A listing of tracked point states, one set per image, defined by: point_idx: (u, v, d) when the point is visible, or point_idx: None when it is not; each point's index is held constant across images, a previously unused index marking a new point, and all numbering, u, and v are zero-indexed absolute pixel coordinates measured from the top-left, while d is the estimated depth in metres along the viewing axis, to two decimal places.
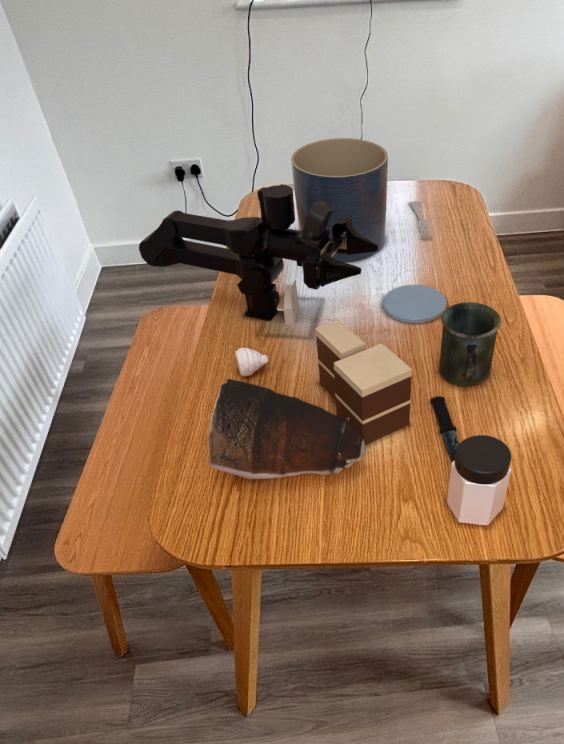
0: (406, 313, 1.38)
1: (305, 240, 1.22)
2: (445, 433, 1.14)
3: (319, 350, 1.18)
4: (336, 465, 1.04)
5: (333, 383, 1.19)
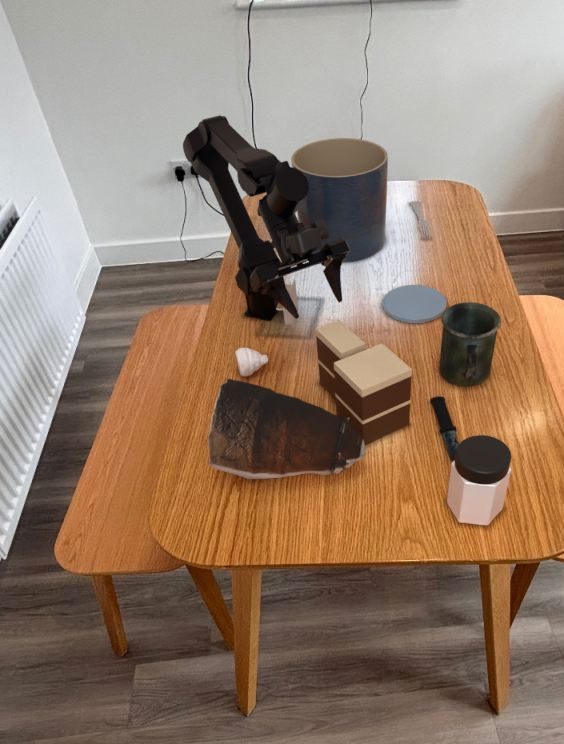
0: (406, 313, 1.38)
1: (282, 244, 1.12)
2: (445, 433, 1.14)
3: (319, 350, 1.18)
4: (336, 465, 1.04)
5: (333, 383, 1.19)
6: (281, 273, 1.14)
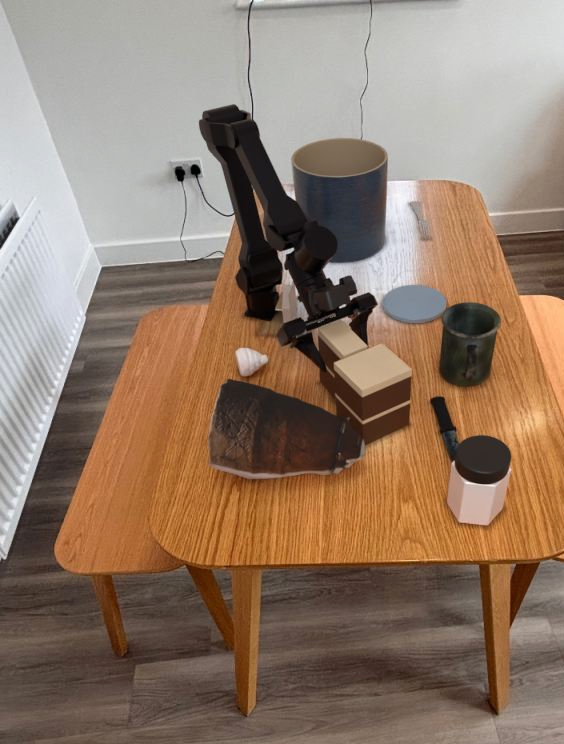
0: (406, 313, 1.38)
1: (310, 299, 1.11)
2: (445, 433, 1.14)
3: (320, 349, 1.18)
4: (336, 465, 1.04)
5: (333, 383, 1.19)
6: (308, 328, 1.14)
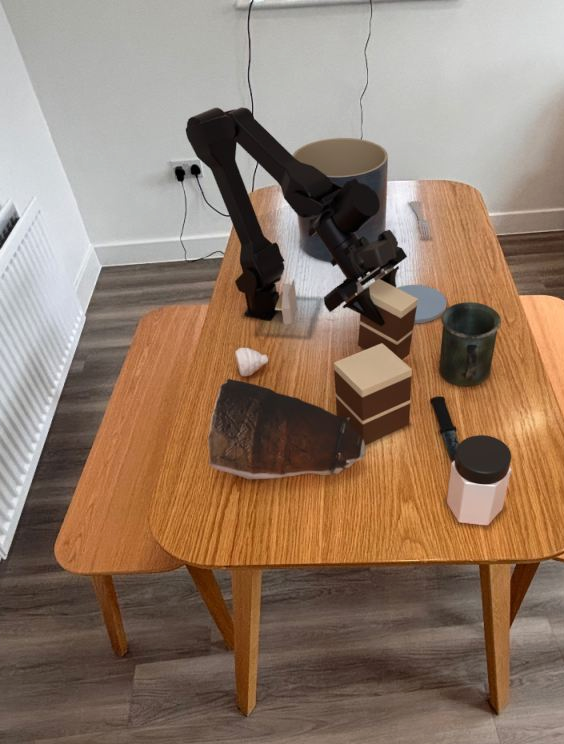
0: None
1: (353, 260, 1.12)
2: (445, 433, 1.14)
3: None
4: (336, 465, 1.04)
5: None
6: None
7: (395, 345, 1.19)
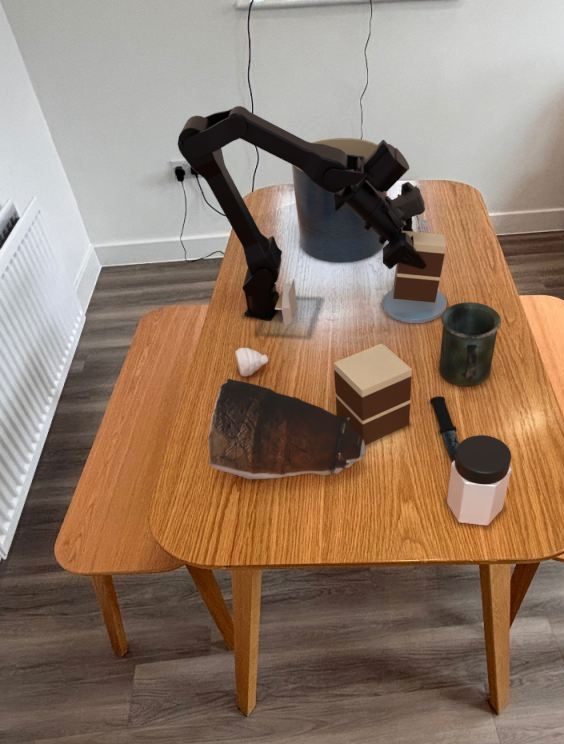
0: (406, 313, 1.38)
1: (394, 215, 1.22)
2: (445, 433, 1.14)
3: None
4: (336, 465, 1.04)
5: (421, 286, 1.34)
6: None
7: (437, 282, 1.33)
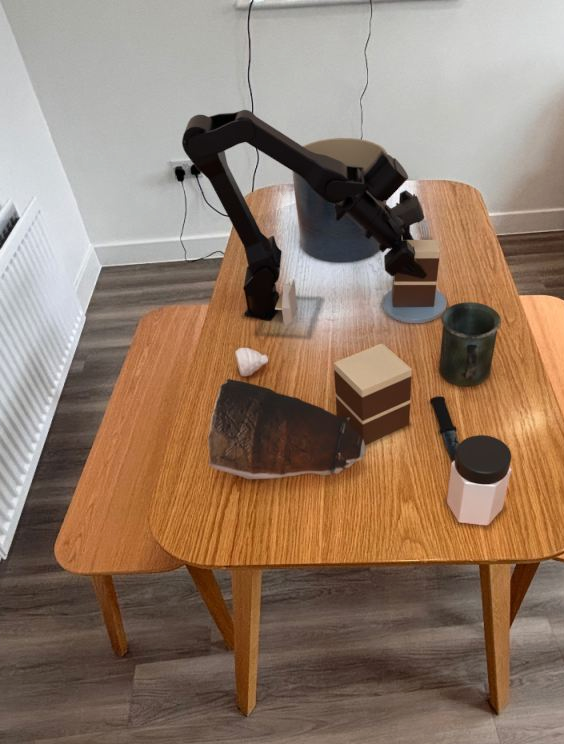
0: (406, 313, 1.38)
1: (394, 224, 1.25)
2: (445, 433, 1.14)
3: None
4: (336, 465, 1.04)
5: (419, 291, 1.37)
6: None
7: (434, 286, 1.36)
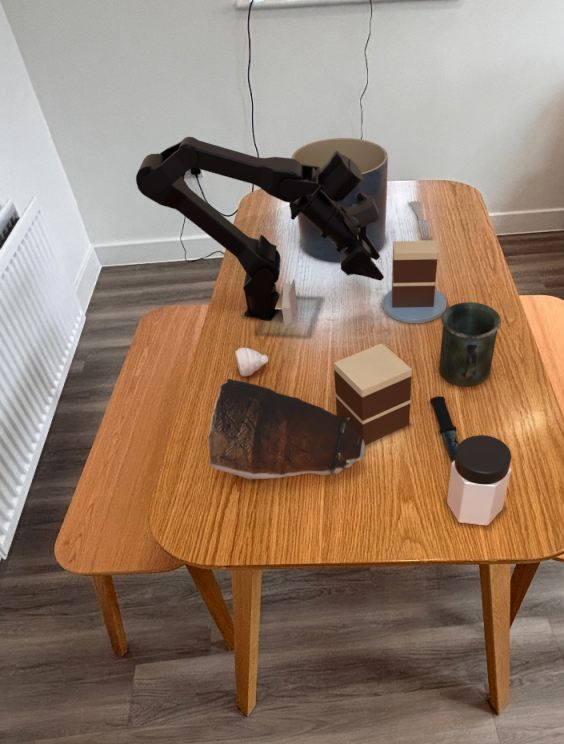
0: (406, 313, 1.38)
1: (350, 223, 1.25)
2: (445, 433, 1.14)
3: (397, 272, 1.33)
4: (336, 465, 1.04)
5: (418, 292, 1.37)
6: None
7: (433, 287, 1.36)
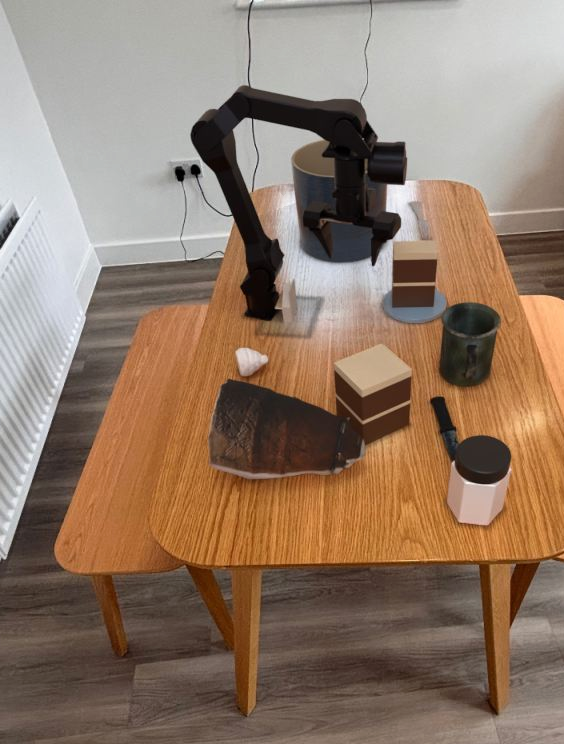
0: (406, 313, 1.38)
1: (369, 196, 1.21)
2: (445, 433, 1.14)
3: (397, 272, 1.33)
4: (336, 465, 1.04)
5: (418, 292, 1.37)
6: None
7: (433, 287, 1.36)
